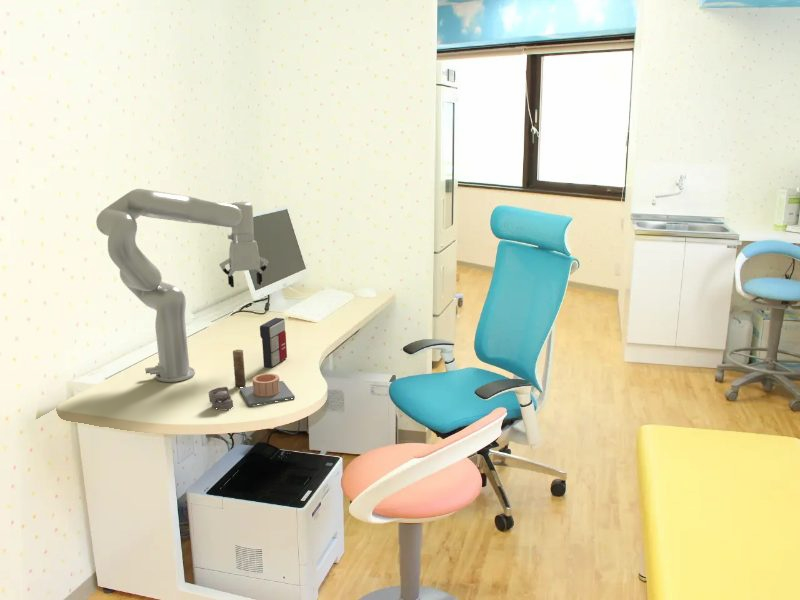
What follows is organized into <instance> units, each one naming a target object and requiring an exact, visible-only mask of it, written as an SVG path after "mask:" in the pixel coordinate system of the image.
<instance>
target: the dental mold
mask: <svg viewBox="0 0 800 600" xmlns="http://www.w3.org/2000/svg"><path fill="white" fill-rule="evenodd" d="M208 398H209V403H210V404H212V405H211V408H212V409H213V410H219V409H227V410H226V411H230V410H232V409H233V408H234V401H233V399H232V397H231V395H230V389H229V387H227V386H221V387H216V388H213V389H211V390H209V392H208ZM232 407H233V408H232ZM216 408H217V409H216ZM231 408H232V409H231ZM229 409H230V410H229Z"/></svg>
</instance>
